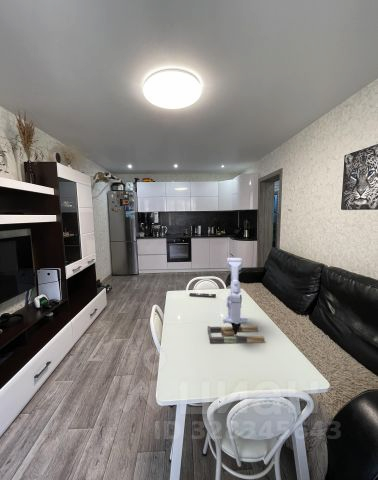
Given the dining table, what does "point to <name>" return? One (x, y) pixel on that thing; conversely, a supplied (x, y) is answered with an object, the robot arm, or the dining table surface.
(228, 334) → the tan wooden block
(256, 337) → the trap lane
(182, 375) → the dining table surface
